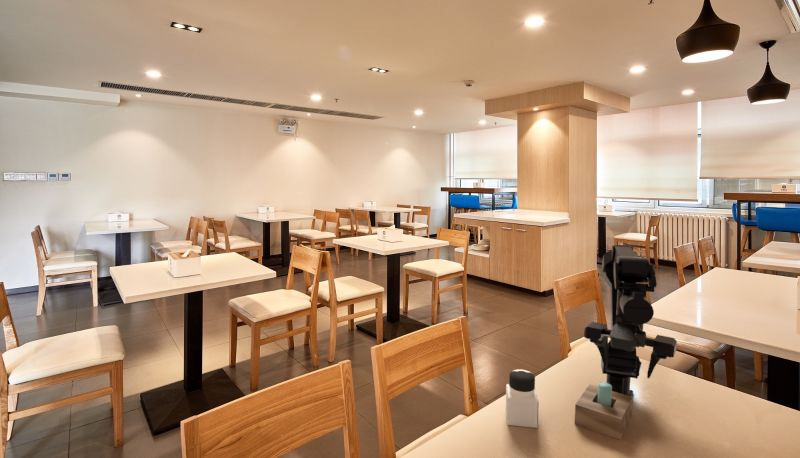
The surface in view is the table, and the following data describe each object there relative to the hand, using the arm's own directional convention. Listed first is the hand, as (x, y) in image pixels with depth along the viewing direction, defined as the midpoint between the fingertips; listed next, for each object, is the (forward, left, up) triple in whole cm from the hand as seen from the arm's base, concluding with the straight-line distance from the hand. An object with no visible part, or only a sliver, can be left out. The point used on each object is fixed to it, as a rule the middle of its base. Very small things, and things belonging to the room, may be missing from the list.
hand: (626, 371), depth 98 cm
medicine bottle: (+15, -20, -13) cm, 28 cm away
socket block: (+3, -4, -12) cm, 13 cm away
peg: (+3, -4, -12) cm, 13 cm away
